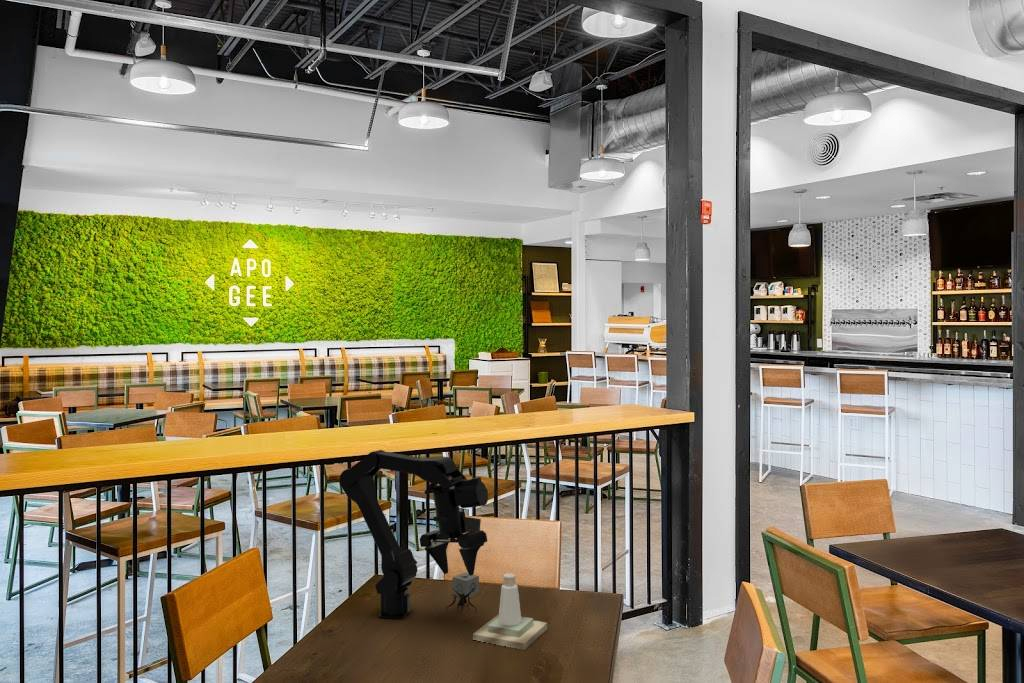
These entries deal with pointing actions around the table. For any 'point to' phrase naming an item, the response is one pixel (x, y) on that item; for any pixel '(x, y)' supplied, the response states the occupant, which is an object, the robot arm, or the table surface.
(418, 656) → the table surface
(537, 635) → the plinth
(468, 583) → the dice cube
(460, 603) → the creature
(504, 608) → the salt shaker
